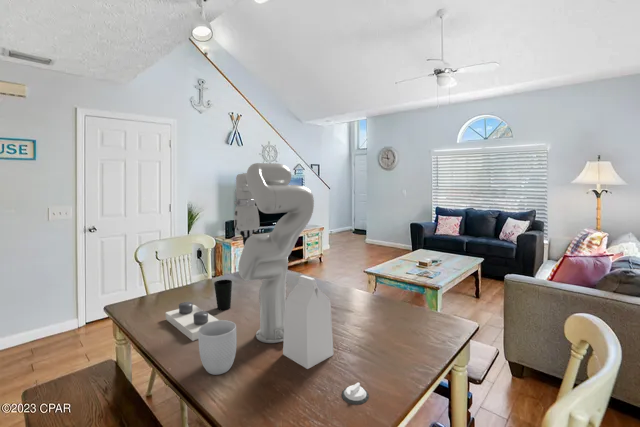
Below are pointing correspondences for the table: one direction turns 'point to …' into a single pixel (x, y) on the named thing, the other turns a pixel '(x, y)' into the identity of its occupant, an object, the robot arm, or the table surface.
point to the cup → (223, 294)
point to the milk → (307, 324)
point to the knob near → (200, 317)
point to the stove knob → (355, 394)
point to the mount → (187, 322)
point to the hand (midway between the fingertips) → (247, 245)
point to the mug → (217, 345)
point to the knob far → (185, 307)
